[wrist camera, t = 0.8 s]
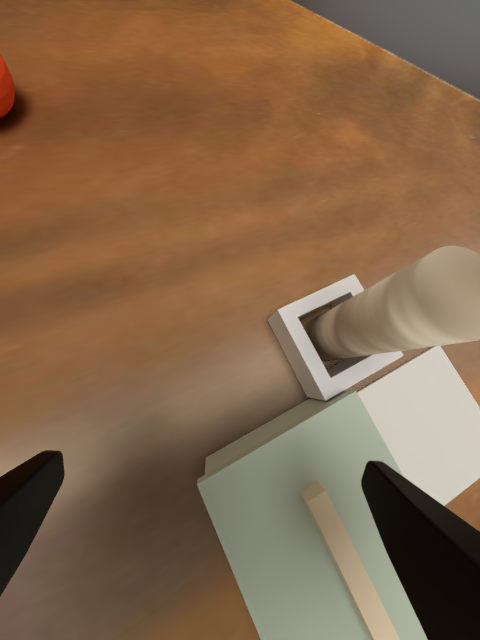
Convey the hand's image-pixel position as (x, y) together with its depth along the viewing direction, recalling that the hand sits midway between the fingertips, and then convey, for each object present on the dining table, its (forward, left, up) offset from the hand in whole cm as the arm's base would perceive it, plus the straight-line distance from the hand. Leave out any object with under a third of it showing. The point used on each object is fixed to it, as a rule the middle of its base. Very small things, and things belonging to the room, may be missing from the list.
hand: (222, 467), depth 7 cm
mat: (-10, -16, -13) cm, 23 cm away
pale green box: (-7, -6, -13) cm, 16 cm away
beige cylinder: (+1, -11, -13) cm, 17 cm away
